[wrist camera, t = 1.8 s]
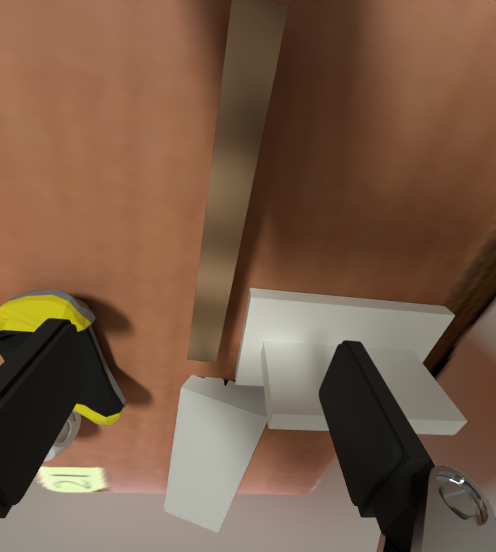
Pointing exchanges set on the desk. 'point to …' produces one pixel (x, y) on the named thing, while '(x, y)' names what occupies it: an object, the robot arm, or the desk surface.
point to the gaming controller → (101, 384)
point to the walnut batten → (234, 161)
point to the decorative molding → (212, 447)
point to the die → (65, 435)
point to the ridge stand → (321, 347)
